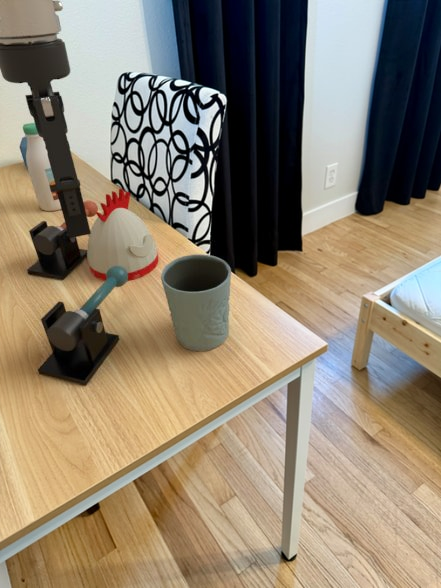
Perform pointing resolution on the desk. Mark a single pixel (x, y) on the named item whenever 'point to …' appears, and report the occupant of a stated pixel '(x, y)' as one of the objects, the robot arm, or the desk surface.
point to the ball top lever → (83, 312)
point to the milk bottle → (40, 169)
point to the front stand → (78, 349)
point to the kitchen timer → (120, 240)
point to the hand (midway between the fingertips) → (73, 213)
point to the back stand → (57, 256)
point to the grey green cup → (198, 300)
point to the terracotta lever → (48, 237)
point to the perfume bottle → (24, 148)
